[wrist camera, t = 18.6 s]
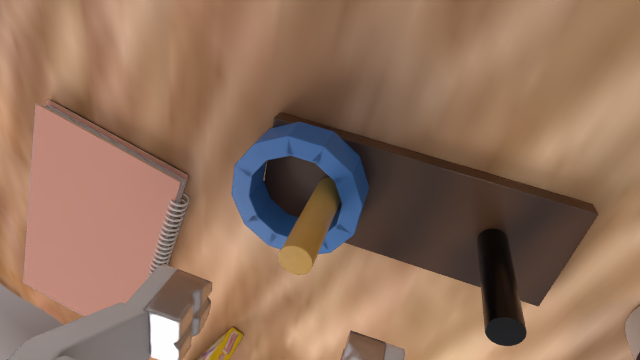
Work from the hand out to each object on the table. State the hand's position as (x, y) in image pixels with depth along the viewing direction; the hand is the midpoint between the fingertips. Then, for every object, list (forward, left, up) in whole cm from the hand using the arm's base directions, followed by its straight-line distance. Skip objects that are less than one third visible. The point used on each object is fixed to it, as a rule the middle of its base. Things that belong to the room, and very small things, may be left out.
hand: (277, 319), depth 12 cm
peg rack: (+11, -3, -25) cm, 27 cm away
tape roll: (+5, -10, -24) cm, 26 cm away
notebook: (+3, -37, -25) cm, 45 cm away
